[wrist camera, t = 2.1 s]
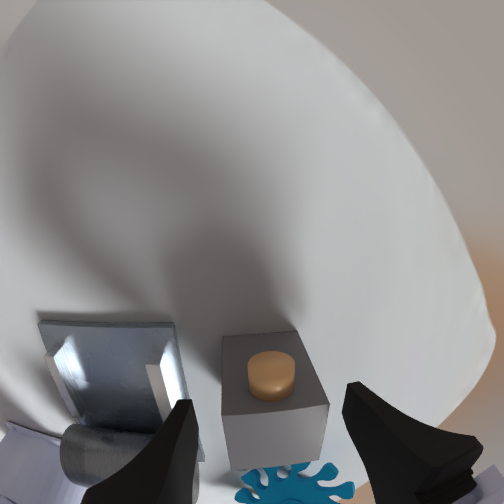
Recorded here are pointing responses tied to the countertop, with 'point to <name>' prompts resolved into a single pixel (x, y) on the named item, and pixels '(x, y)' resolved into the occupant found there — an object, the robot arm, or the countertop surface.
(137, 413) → the motor mount
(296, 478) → the gear
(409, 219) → the countertop surface
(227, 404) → the grey knobbed block
